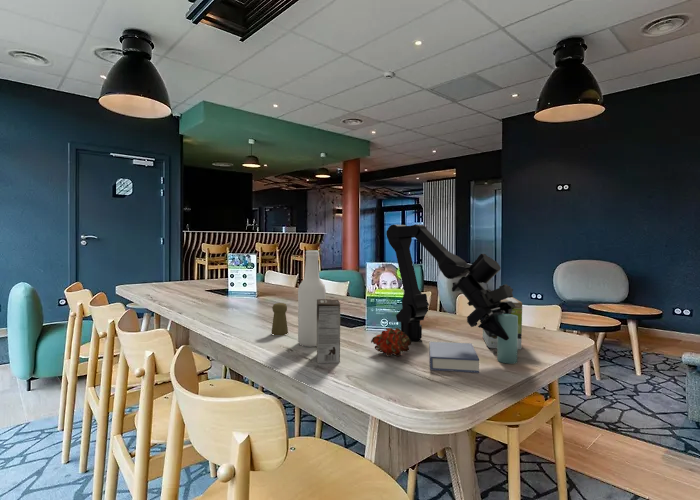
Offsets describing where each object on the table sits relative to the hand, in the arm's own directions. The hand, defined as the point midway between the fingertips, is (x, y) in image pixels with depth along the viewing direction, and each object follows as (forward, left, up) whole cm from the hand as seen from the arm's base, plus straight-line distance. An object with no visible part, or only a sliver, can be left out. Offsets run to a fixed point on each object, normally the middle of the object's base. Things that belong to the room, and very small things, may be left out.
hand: (512, 337), depth 108 cm
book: (-16, -3, -7) cm, 18 cm away
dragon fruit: (-33, +1, -7) cm, 34 cm away
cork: (-74, +20, -7) cm, 77 cm away
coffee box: (-50, -6, -7) cm, 51 cm away
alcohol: (-59, +9, -7) cm, 60 cm away
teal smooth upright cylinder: (-1, +1, -7) cm, 7 cm away
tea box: (+1, +21, -7) cm, 22 cm away
